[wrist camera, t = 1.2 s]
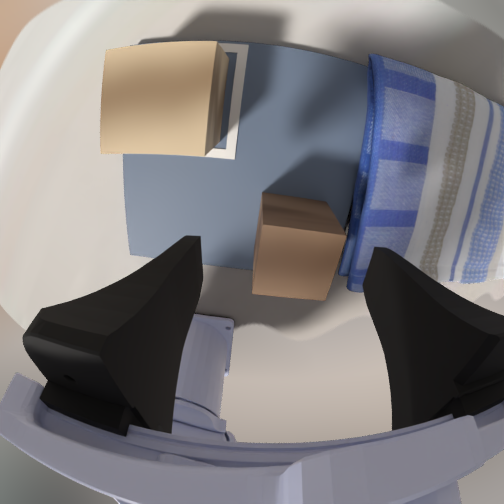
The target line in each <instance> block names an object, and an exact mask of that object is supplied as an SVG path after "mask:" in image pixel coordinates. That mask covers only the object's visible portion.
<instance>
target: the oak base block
mask: <svg viewBox="0 0 504 504" xmlns="http://www.w3.org/2000/svg"><path fill="white" fill-rule="evenodd" d="M228 65H229V58H228V56H227V55H226V53H225V52H224V50H223V49H222V47H221V46H220V45H219V43H218V42H217V41H179V42H163V43H151V44H142V45H134V46H127V47H121V48H115V49H110V50H106V54H105V62H104V71H103V82H102V96H101V120H100V148H101V154H167V155H187V156H202V157H205V156H206V155H207V154H208V153H209V152H210V151H211V150H212V149H213V148H214V147H215V146H216V145H217V144H218V143H219V142H220V134H221V124H222V115H223V106H224V97H225V89H226V81H227V73H228Z"/></svg>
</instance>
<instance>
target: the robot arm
mask: <svg viewBox="0 0 504 504" xmlns="http://www.w3.org/2000/svg"><path fill="white" fill-rule="evenodd" d="M202 282H203V266H202V250H201V236H192V235H186V236H184V237H183V238H181V239H180V240H178V241H177V242H176V243H174V244H173V245H172V246H171V247H169V248H168V249H167V250H165V251H164V252H163V253H161V254H160V255H159V256H157V257H156V258H154V259H153V260H152V261H150V262H149V263H147V264H146V265H144V266H143V267H141V268H140V269H138V270H137V271H135V272H133V273H132V274H130V275H128V276H127V277H125V278H123V279H121V280H119V281H117V282H115V283H113V284H111V285H109V286H107V287H105V288H103V289H100V290H98V291H96V292H94V293H91V294H89V295H86V296H83V297H80V298H78V299H75V300H72V301H68V302H65V303H61V304H58V305H54V306H50V307H46V308H42V309H41V310H40V311H39V313H38V314H37V316H36V317H35V319H34V320H33V321H32V323H31V324H30V326H29V327H28V329H27V330H26V332H25V333H24V335H23V345H24V347H25V350H26V352H27V353H28V355H29V356H30V358H31V359H32V361H33V362H34V363H35V365H36V366H37V367H38V369H39V370H40V371H41V372H42V374H43V375H44V376H45V377H46V379H47V380H48V381H47V383H46V386H45V388H44V387H43V386H42V385H41V384H40V383H38V382H36V381H34V380H32V379H30V378H28V377H26V376H24V375H22V374H20V373H18V372H17V373H15V375H14V377H13V379H12V381H11V382H10V384H9V386H8V388H7V390H6V392H5V395H4V397H3V398H2V401H1V403H0V435H1V436H2V437H4V438H5V439H6V440H8V441H9V442H10V443H12V444H13V445H15V446H16V447H17V448H19V449H20V450H22V451H23V452H25V453H26V454H28V455H29V456H31V457H32V458H34V459H36V460H37V461H39V462H40V463H42V464H44V465H45V466H47V467H49V468H51V469H53V470H55V471H56V472H58V473H60V474H62V475H63V476H65V477H67V478H69V479H71V480H73V481H76V482H78V483H80V484H82V485H84V486H86V487H88V488H91V489H93V490H95V491H98V492H100V493H103V494H106V495H108V496H110V497H113V498H114V499H115V500H116V501H117V502H118V503H119V504H461V499H460V492H459V487H458V482H457V480H458V479H461V478H463V477H464V476H466V475H468V474H470V473H472V472H473V471H475V470H477V469H478V468H480V467H482V466H483V465H484V463H485V462H486V461H487V460H489V459H491V458H492V457H494V456H495V455H497V454H498V453H499V452H501V451H502V450H504V316H503V315H500V314H497V313H495V312H492V311H490V310H487V309H485V308H483V307H481V306H478V305H476V304H474V303H472V302H470V301H468V300H466V299H465V298H463V297H461V296H459V295H457V294H456V293H454V292H452V291H451V290H449V289H447V288H446V287H444V286H443V285H441V284H440V283H438V282H437V281H435V280H434V279H432V278H431V277H429V276H428V275H427V274H425V273H424V272H423V271H421V270H420V269H418V268H417V267H416V266H414V265H413V264H412V263H410V262H409V261H407V260H406V259H405V258H403V257H402V256H400V255H399V254H397V253H396V252H394V251H392V250H391V249H389V248H387V247H374V250H373V253H372V257H371V260H370V263H369V266H368V269H367V272H366V275H365V278H364V281H363V284H362V286H363V291H364V295H365V299H366V303H367V307H368V309H369V312H370V315H371V317H372V320H373V323H374V325H375V328H376V331H377V333H378V336H379V339H380V341H381V345H382V348H383V351H384V354H385V360H386V364H387V370H388V376H389V383H390V391H391V404H392V431H389V432H384V433H379V434H373V435H368V436H362V437H355V438H348V439H340V440H330V441H319V442H306V443H305V442H304V443H244V442H237V441H236V439H235V437H234V436H233V434H232V433H231V432H229V431H226V420H223V419H220V410H221V409H220V408H221V401H222V392H223V383H224V376H228V375H229V367H230V357H231V347H232V339H233V330H234V321H233V320H232V319H230V318H222V317H214V316H206V315H199V314H194V313H195V310H196V307H197V304H198V301H199V297H200V292H201V287H202Z"/></svg>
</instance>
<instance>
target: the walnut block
mask: <svg viewBox="0 0 504 504" xmlns="http://www.w3.org/2000/svg"><path fill="white" fill-rule="evenodd" d="M346 237H347V235H346V234H345V232H344V230H343V228H342V227H341V225H340V223H339V222H338V220H337V218H336V217H335V215H334V213H333V212H332V210H331V208H330V207H329V205H328V203H327V202H325V201H319V200H313V199H307V198H300V197H293V196H287V195H279V194H272V193H264V192H262V196H261V203H260V210H259V217H258V224H257V231H256V238H255V245H254V259H253V282H252V294H258V295H268V296H277V297H288V298H299V299H310V300H323V301H325V300H326V297H327V294H328V291H329V289H330V286H331V283H332V280H333V277H334V274H335V271H336V268H337V265H338V262H339V259H340V256H341V253H342V250H343V247H344V243H345V240H346Z"/></svg>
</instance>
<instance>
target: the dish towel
mask: <svg viewBox="0 0 504 504" xmlns="http://www.w3.org/2000/svg"><path fill="white" fill-rule="evenodd" d="M367 85H368V87H367V113H366V122H365V129H364V135H363V142H362V148H361V154H360V161H359V167H358V173H357V179H356V183H355V189H354V195H353V206H352V213H351V219H350V223H349V229H348V235H347V240H346V244H345V248H344V253H343V257H342V261H341V265H340V268H339V271H338V274H339V275H341V276H349V277H348V281H347V286H346V287H347V289H348V290H350V291H354V292H364V291H363V286H362V284H363V281H364V278H365V275H366V272H367V269H368V266H369V263H370V260H371V257H372V253H373V250H374V247H387V248H389V249H391V250H392V251H394V252H396V253H397V254H399V255H400V256H402V257H403V258H405V259H406V260H407V261H409V262H410V263H412V264H413V265H414V266H416V267H417V268H418V269H420V270H421V271H423V272H424V273H425V274H427V275H428V276H429V277H431V278H432V279H434V280H435V281H437V282H438V283H440V282H448V281H452V282H459V283H463V284H466V283H468V284H470V283H479V282H485V281H489V280H495V279H504V107H503V106H502V105H500V104H498V103H496V102H493V101H491V100H489V99H487V98H485V97H484V96H482V95H480V94H478V93H477V92H475V91H473V90H472V89H470V88H468V87H467V86H465V85H463V84H460V83H458V82H455V81H453V80H450V79H447V78H443V77H440V76H438V75H435V74H433V73H430V72H428V71H426V70H423V69H420V68H417V67H415V66H412V65H409V64H406V63H403V62H400V61H396V60H393V59H390V58H387V57H383V56H380V55H377V54H369V65H368V71H367Z"/></svg>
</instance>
